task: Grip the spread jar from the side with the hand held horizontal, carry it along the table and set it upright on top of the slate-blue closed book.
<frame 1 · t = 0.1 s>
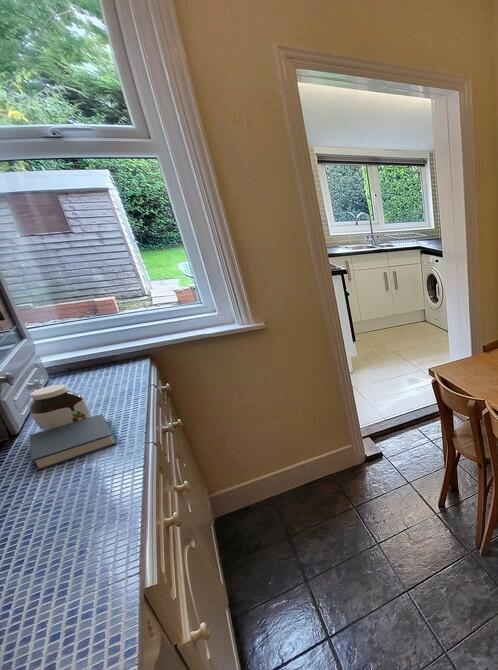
book: (75, 444, 105), on the worktop
spread jar: (70, 425, 116), on the worktop
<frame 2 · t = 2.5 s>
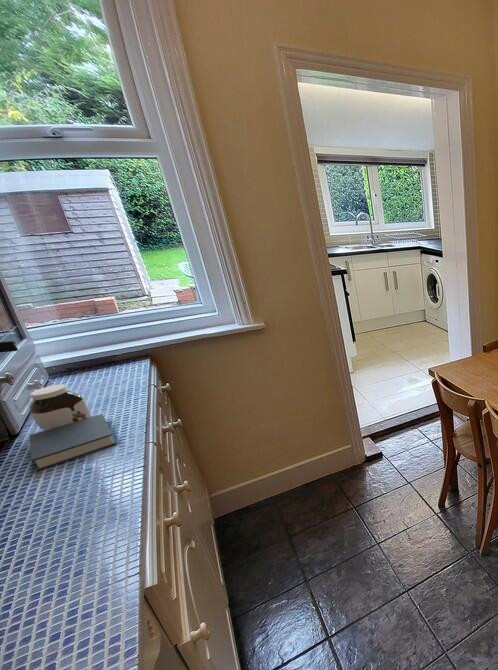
nothing on the worktop moved.
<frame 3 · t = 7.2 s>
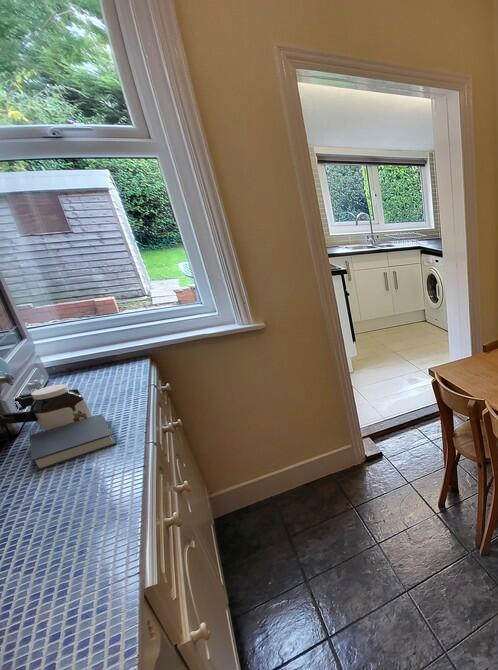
hand: (57, 404, 113), 7 cm above the worktop, tool horizontal, fingers open, 13 cm apart
spread jar: (71, 425, 116), on the worktop, touching gripper
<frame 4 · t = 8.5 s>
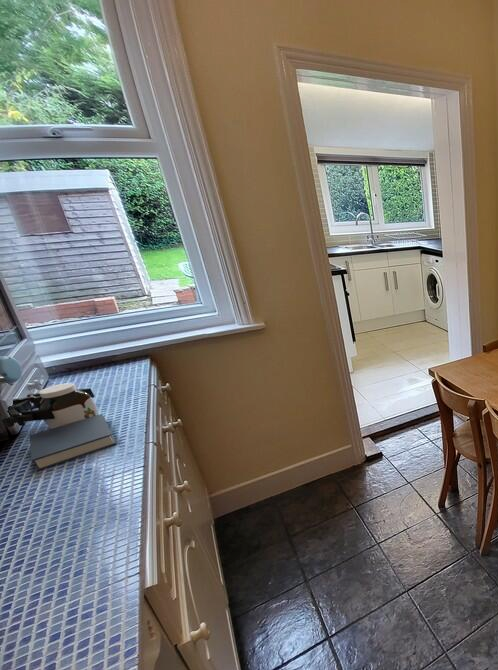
hand: (72, 402, 113), 7 cm above the worktop, tool horizontal, fingers closed on spread jar, 12 cm apart
spread jar: (76, 424, 116), on the worktop, touching gripper
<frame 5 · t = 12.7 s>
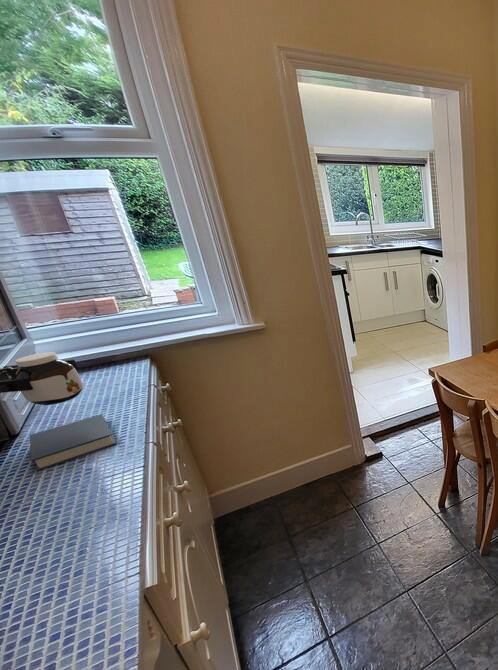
hand: (53, 374, 102), 18 cm above the worktop, tool horizontal, fingers closed on spread jar, 12 cm apart
spread jar: (58, 398, 105), point 11 cm above the worktop, touching gripper
when the fingers open (9 cm above the worktop, at t = 16.8 s): spread jar stays where it is, resting on book.
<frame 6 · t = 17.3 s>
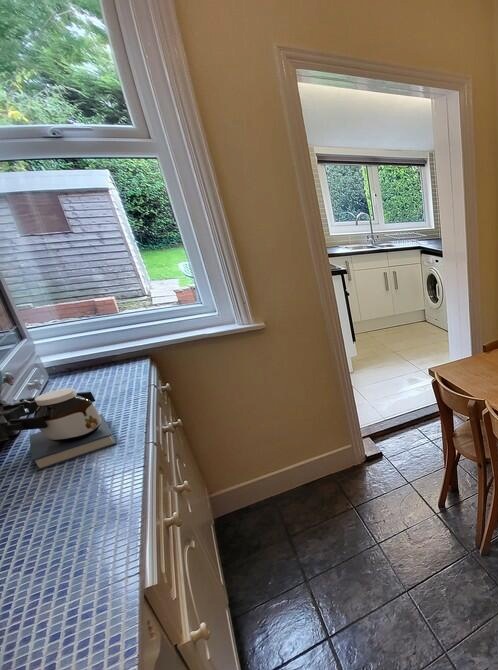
hand: (69, 408, 101), 10 cm above the worktop, tool horizontal, fingers open, 13 cm apart
spread jar: (76, 434, 105), point 3 cm above the worktop, touching book
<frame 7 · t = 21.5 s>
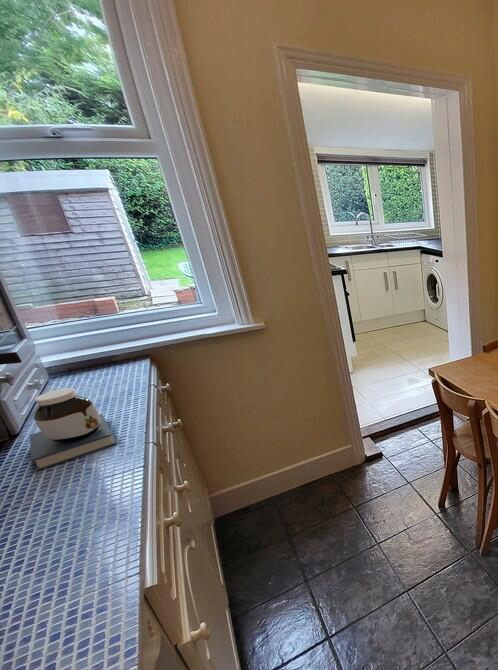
nothing on the worktop moved.
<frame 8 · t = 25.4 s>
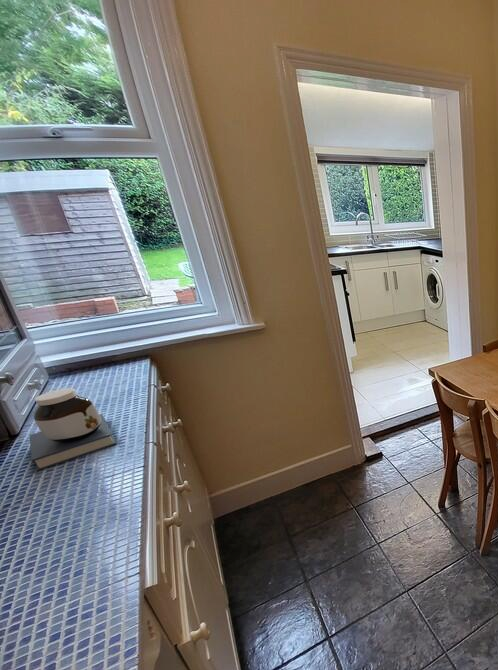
nothing on the worktop moved.
at the end: spread jar inside the target area on the book (1.3 cm from its centre), point 2.8 cm above the book's base; spread jar tilted 0°; the gripper is holding nothing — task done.
